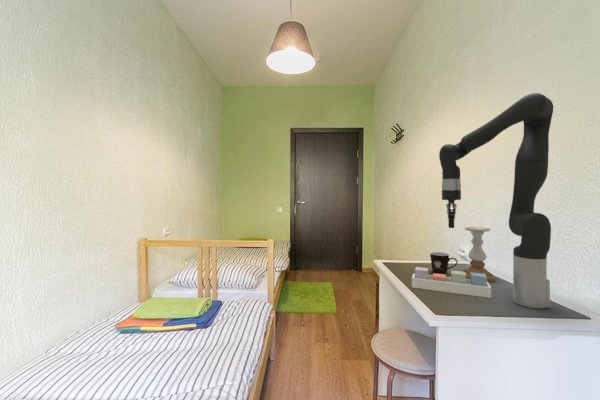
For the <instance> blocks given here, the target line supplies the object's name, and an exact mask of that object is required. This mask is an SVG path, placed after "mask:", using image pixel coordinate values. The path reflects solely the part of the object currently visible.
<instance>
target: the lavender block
mask: <svg viewBox="0 0 600 400" xmlns="http://www.w3.org/2000/svg"><path fill="white" fill-rule="evenodd" d="M414 274H415V278H418V279H426V280H428V275H429V268H428V267H419V266H416V267H415V269H414Z"/></svg>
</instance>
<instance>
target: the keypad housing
mask: <svg viewBox="0 0 600 400" xmlns="http://www.w3.org/2000/svg"><path fill="white" fill-rule="evenodd" d="M411 276H412V277H411V288H412V287H413V288H414V289H419V288H420V289H421V290H426V291H427V290H428V291H435V292H442V293H443V292H444V293H450V294H457V295H467V296H472V297H473V296H474V297H479V298H488V299H491V298H492V287H491V284H490V282H487V287H486V286H478V285H471V280H468V279H466V284H461V283H452V282H451V277H450V276H446V282H443V281H435V280H433V275H431V274H428V280H426V279H418V278H415V273H412V275H411ZM413 288H412V289H413Z"/></svg>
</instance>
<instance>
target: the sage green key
mask: <svg viewBox="0 0 600 400" xmlns="http://www.w3.org/2000/svg"><path fill="white" fill-rule="evenodd" d="M450 271H451V272H450V273H451V275H450V278H451V282H452V283H461V284H466V273H465V272H461V271H462V270H460V271H459V270H450Z"/></svg>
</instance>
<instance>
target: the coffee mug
mask: <svg viewBox="0 0 600 400" xmlns="http://www.w3.org/2000/svg"><path fill="white" fill-rule="evenodd" d="M429 255H430V262H431V270H432V271H431V272H432V274H433V273H436V274H445V275H446V276H447V275H448V270H450V269H452V268H454V267H455V266H456V267H457V265H458V259H457V258H455V257H450V254H449V253H447V252H441V251H434V252H433V251H431V252H430V254H429ZM449 257H450V258H449ZM450 260H455V262H456V263H455V264H454V265H451V266H450V267H449V262H450Z"/></svg>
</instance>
